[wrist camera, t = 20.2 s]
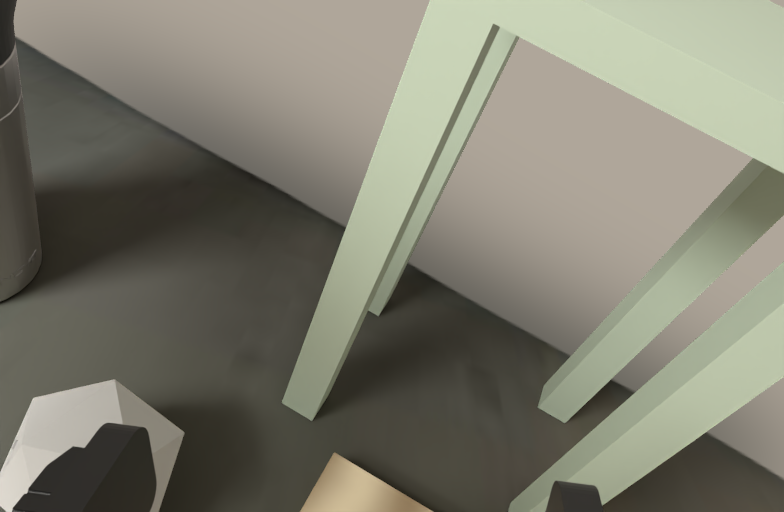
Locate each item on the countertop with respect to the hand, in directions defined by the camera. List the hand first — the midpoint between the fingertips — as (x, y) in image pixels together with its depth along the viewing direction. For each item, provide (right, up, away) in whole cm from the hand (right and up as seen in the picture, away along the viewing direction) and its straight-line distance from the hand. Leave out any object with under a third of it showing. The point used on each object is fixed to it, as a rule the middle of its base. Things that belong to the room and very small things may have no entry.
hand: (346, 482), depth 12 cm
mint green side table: (+5, -7, +35) cm, 36 cm away
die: (-16, -9, +23) cm, 30 cm away
